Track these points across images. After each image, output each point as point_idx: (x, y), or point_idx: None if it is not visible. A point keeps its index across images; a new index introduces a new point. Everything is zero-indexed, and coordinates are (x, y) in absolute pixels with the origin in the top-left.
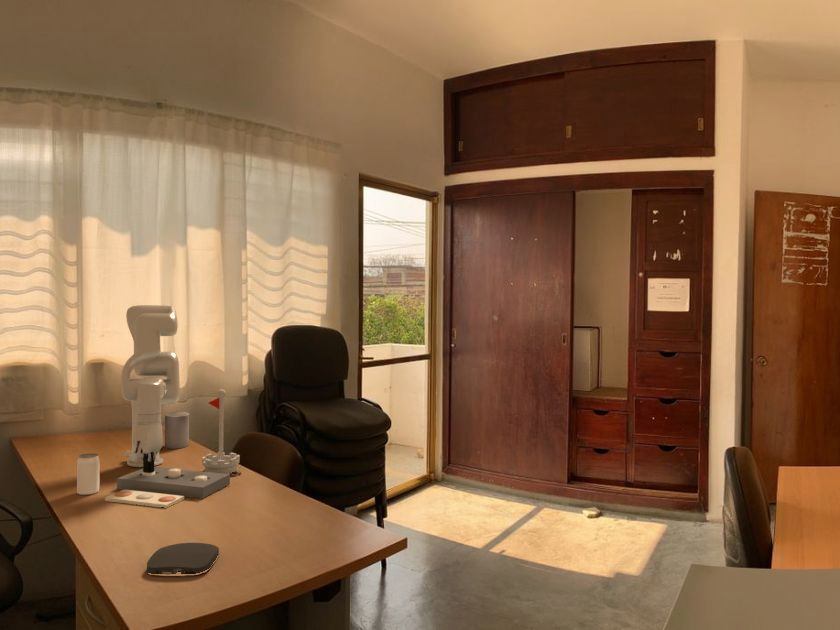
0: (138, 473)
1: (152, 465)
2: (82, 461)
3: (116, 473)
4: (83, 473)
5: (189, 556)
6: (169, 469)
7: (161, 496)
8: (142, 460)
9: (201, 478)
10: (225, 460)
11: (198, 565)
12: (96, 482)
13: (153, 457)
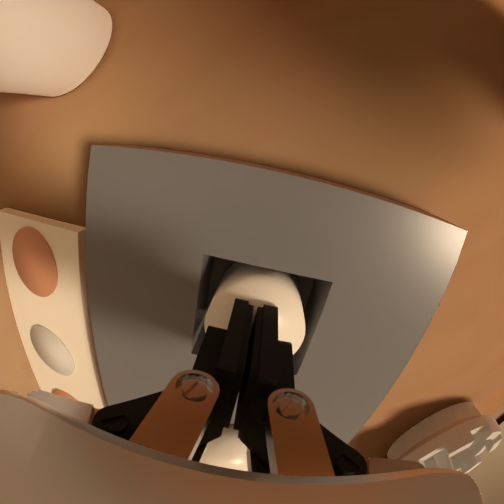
0: (249, 243)
1: (238, 399)
2: None
3: (443, 14)
4: None
5: None
6: (222, 455)
7: (79, 394)
8: (175, 379)
9: None
10: (476, 439)
11: None
12: (19, 93)
13: (248, 460)
